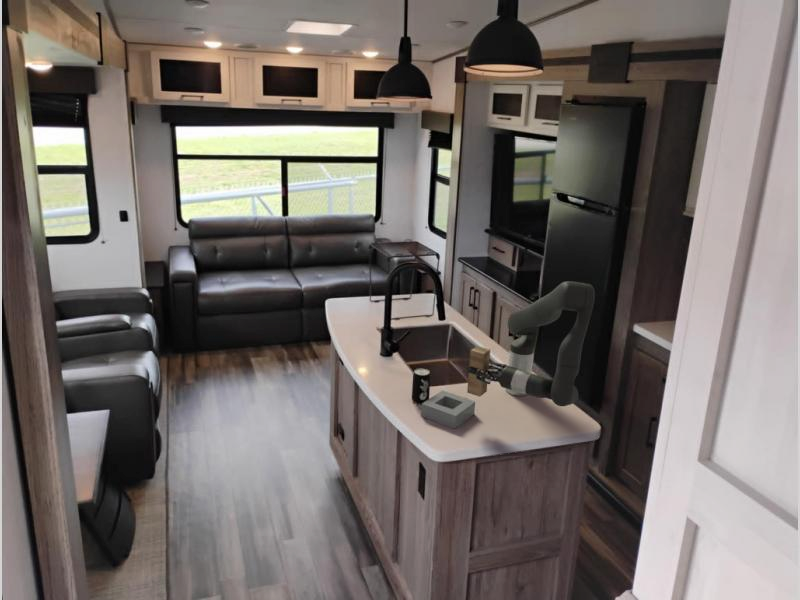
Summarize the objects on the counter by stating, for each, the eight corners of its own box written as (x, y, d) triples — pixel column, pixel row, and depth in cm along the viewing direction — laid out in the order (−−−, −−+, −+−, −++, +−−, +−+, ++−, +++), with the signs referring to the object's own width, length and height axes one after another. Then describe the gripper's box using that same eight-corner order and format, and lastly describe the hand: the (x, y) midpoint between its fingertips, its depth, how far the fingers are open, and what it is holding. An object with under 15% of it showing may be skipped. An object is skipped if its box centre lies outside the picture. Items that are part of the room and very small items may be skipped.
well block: (441, 402, 236) (442, 390, 234) (474, 413, 228) (475, 401, 226) (421, 416, 225) (421, 403, 223) (454, 428, 217) (455, 415, 215)
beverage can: (414, 405, 232) (416, 375, 229) (409, 397, 238) (411, 368, 235) (431, 403, 234) (433, 374, 230) (425, 396, 240) (427, 367, 236)
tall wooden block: (473, 387, 222) (477, 345, 217) (486, 391, 219) (490, 349, 214) (467, 392, 218) (470, 350, 213) (479, 396, 215) (483, 353, 210)
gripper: (527, 363, 213) (482, 350, 222) (508, 376, 201) (462, 362, 210) (524, 383, 215) (480, 369, 224) (506, 397, 204) (461, 383, 213)
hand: (472, 366), depth 217 cm, fingers closed on tall wooden block, 5 cm apart
